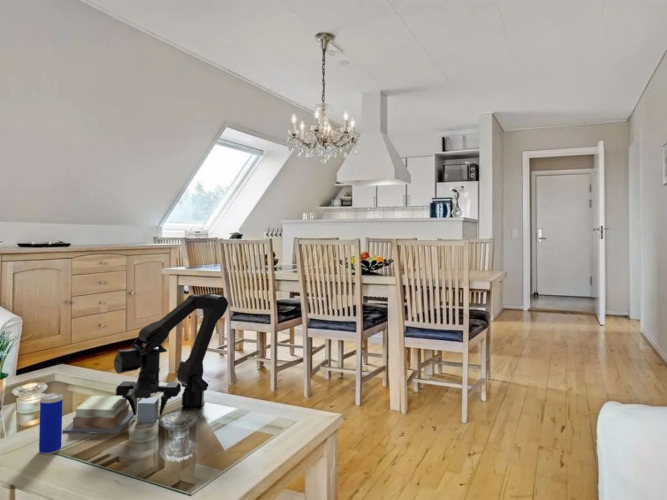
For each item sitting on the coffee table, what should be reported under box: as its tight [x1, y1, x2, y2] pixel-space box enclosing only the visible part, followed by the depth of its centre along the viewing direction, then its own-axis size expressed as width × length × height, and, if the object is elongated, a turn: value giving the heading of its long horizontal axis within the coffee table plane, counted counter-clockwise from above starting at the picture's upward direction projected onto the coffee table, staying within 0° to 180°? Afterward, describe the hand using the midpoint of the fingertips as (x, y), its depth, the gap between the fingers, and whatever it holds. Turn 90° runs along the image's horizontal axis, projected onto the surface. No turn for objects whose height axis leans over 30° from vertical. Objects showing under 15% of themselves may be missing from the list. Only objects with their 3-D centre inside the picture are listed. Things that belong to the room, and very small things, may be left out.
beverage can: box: [38, 392, 64, 455], centre depth 126 cm, size 5×5×15 cm
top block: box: [136, 396, 160, 423], centre depth 150 cm, size 5×5×6 cm
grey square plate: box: [62, 409, 135, 434], centre depth 146 cm, size 16×16×1 cm
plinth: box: [72, 395, 130, 428], centre depth 146 cm, size 12×12×6 cm
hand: (148, 415), depth 150 cm, fingers open, 8 cm apart
